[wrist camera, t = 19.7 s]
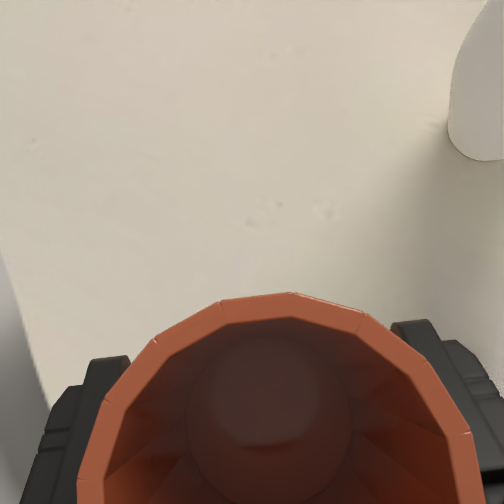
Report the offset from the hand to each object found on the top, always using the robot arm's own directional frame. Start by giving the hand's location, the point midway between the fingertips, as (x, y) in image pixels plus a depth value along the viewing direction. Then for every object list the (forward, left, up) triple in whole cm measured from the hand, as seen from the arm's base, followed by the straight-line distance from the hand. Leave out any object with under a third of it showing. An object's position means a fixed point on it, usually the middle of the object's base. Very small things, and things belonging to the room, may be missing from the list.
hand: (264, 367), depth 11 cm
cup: (0, -2, -5) cm, 5 cm away
